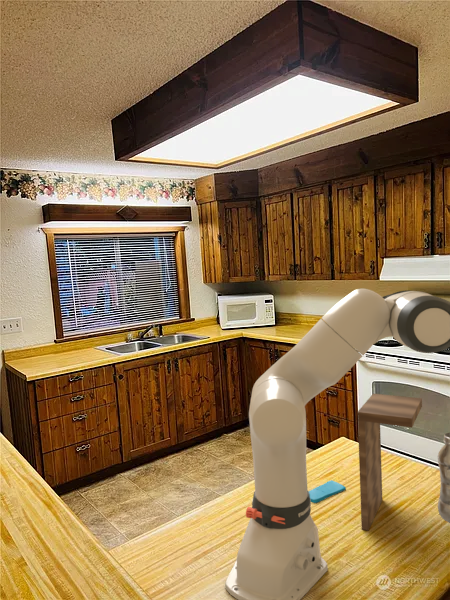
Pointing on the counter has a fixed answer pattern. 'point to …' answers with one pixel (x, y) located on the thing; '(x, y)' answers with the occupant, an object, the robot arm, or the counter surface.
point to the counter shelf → (378, 444)
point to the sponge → (325, 491)
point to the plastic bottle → (444, 479)
